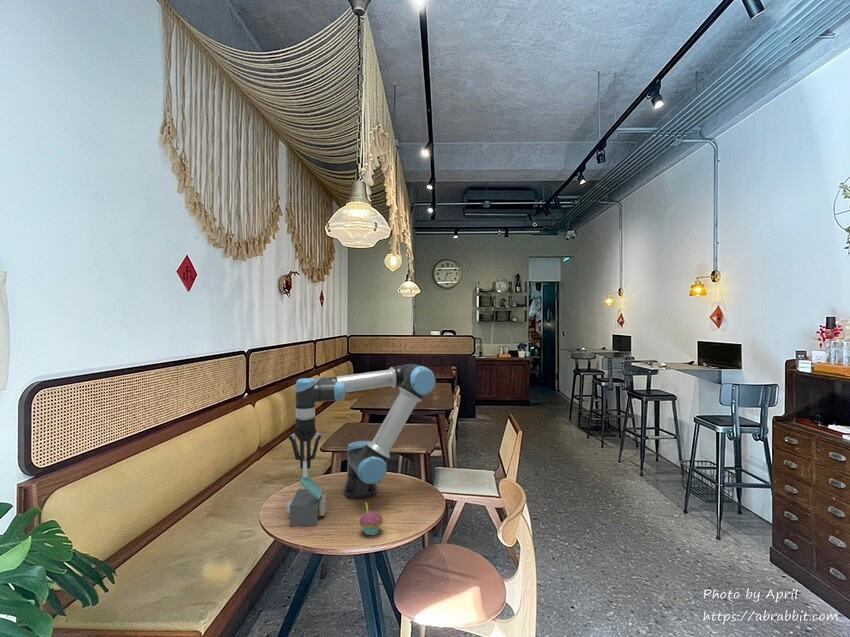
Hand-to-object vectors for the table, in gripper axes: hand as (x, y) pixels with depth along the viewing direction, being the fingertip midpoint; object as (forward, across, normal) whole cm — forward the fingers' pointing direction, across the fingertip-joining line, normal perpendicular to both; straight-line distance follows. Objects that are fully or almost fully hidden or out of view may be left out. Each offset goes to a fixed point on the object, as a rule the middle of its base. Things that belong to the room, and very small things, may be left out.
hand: (305, 476), depth 171 cm
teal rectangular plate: (+4, -2, 0) cm, 5 cm away
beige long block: (+15, -1, 0) cm, 15 cm away
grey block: (+16, -1, 0) cm, 16 cm away
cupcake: (+16, -27, +15) cm, 35 cm away
